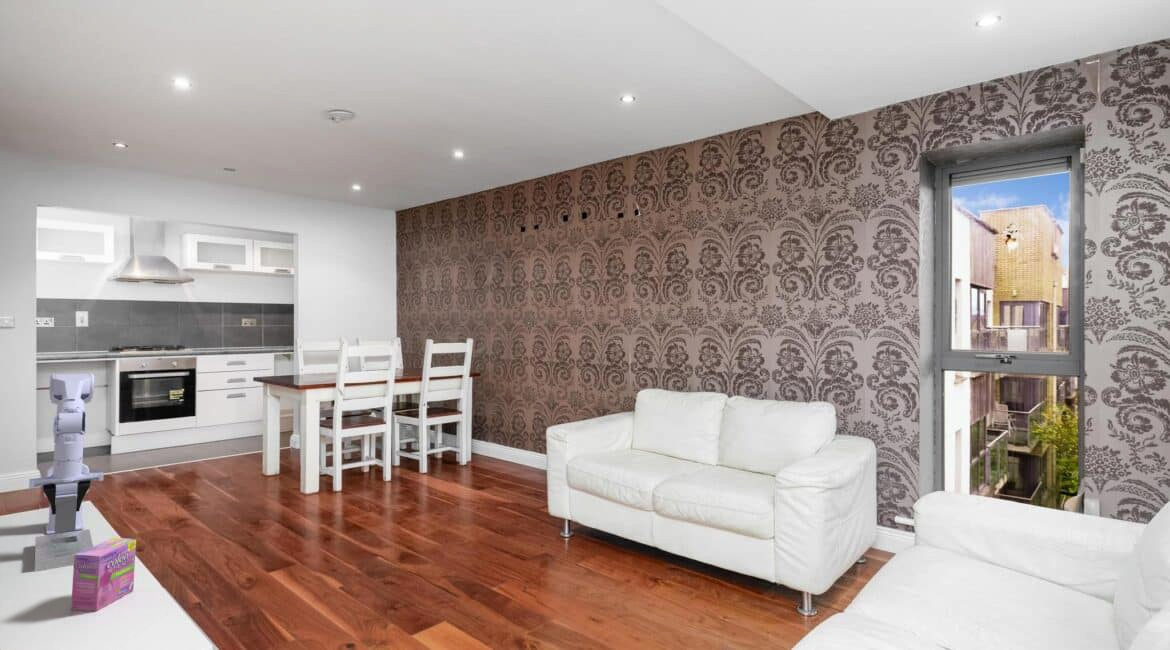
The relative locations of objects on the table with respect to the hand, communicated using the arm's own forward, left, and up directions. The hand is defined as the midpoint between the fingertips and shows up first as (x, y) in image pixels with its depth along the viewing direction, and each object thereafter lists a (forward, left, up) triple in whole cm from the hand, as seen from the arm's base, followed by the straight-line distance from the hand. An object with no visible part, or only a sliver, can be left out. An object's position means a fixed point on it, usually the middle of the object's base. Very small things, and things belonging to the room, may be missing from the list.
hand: (65, 512), depth 157 cm
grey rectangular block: (0, 0, -5) cm, 5 cm away
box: (+37, +6, -11) cm, 39 cm away
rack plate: (0, 0, -11) cm, 11 cm away
